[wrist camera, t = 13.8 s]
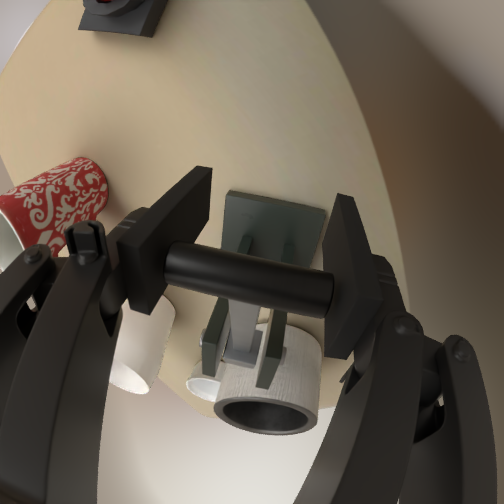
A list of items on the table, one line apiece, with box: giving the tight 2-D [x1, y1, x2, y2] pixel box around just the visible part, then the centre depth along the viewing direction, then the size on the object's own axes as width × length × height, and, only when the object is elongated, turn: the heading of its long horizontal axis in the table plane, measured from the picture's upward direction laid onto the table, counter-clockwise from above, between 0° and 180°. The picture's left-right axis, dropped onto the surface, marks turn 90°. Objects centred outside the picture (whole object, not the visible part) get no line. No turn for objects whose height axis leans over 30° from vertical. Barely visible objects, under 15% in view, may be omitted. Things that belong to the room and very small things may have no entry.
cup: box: [109, 295, 175, 394], centre depth 32 cm, size 9×9×12 cm
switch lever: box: [163, 240, 335, 369], centre depth 14 cm, size 14×5×2 cm, turn 172°
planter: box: [214, 323, 322, 435], centre depth 33 cm, size 13×13×11 cm
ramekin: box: [186, 360, 226, 402], centre depth 42 cm, size 9×9×4 cm
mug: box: [0, 157, 108, 271], centre depth 23 cm, size 13×9×14 cm
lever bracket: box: [199, 190, 326, 390], centre depth 23 cm, size 12×9×14 cm
